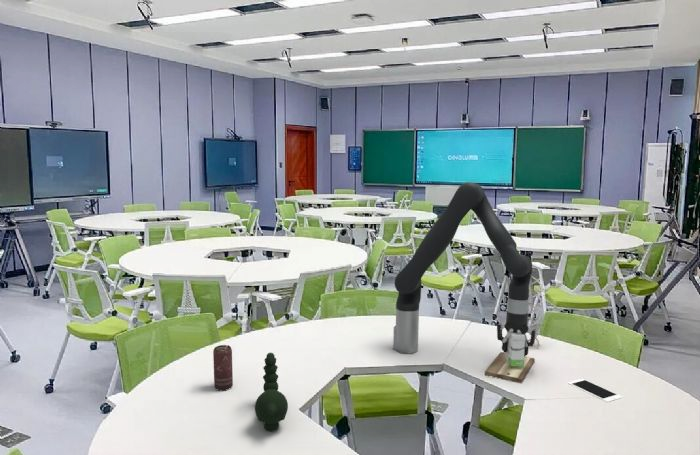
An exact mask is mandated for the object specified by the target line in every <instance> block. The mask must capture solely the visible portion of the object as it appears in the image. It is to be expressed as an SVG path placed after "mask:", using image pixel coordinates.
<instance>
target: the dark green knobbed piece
mask: <svg viewBox="0 0 700 455" xmlns="http://www.w3.org/2000/svg"><path fill="white" fill-rule="evenodd" d="M264 364H265V365H264V366H263V368H262V369H263V371H264V375H263V376H262V379H263V380H264V383H263V388H262V389H263V392H262V393H260V395H259V396H258V397H257V399H256V401H255V404H254V413H255V415H256V417H257V420H258V421H259V422H261V423H264V424H263V428H264V429H265V431H269V432H274V431H277V430H279V428H280V422H281V421H285V419H286V416H287V413H288V409H289V402H288V400H287V398H286V397H287V396H285V394H283V393H282V392H281V391H279V383H278V379H279V375H278V374H277V370H278V368H279V367H278V365H276V364H277V357H275V354H274V352H268V353H267V354H266V356H265V358H264Z"/></svg>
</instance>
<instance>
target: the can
mask: <svg viewBox="0 0 700 455" xmlns="http://www.w3.org/2000/svg"><path fill="white" fill-rule="evenodd" d="M212 355H213V357H212V358H213V360H212V361H213V386H214V389H215V388H216V389H218V390H217V391H219V390H225V391H227V390H226V389H229V388H230V389H232V387H233V386H234V385H233V384H234V382H233V381H234V380H233V377H234V376H233V375H234V374H233V349H232V347H231V345H228V344H226V345H225V344H222V345H216V346H215V347H214V348H213V351H212ZM230 389H229V390H230Z"/></svg>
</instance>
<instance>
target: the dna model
mask: <svg viewBox="0 0 700 455" xmlns="http://www.w3.org/2000/svg"><path fill="white" fill-rule="evenodd" d="M542 278H543V277H539V278H538V279H537V278H536V277H534V276H533V275H531V279H534V280H535V281H533V282H531V283H529V287H530V286H532V285H534V284H536V283H538V284H539V285H540V291H539V290H536V289H531V288H529V291H530V292H531V294H534V295H532V296H531V297H528V303H529V306H530V307H532V308H533V310H531V311H530V310H529V311H528V315H529V314H531V313H534V312H535V311H536V312H537V313H538V315H539V317H538V319H537V318H533V317H530V316H528V320H529V321H531V322H533V323H532V324H531V325H528V328H529V329H530V328H532V327H533V326H537V328H538V332H537V333H536V336H535V341H536V342H537V346H536V349H539V347H540V341H539V339H538V336H539V335H540V333H541V328H540V325H539V324H538V323H539V322H540V321H541V318H542V314H541V312H540V311H539V309H540V308H541V306H542V304H543V302H542V301H543V300H542V298H541V297H540V296H539V295H540V294H541V293H542V292H543V290H544V289H543V288H544V287H543V284H542V283H541V282H540V280H542ZM534 291H535V292H534ZM537 292H538V293H537ZM536 297H537V298H538V299H539V301H540V302H539V305H537V304H535V305H534V304H533V303H530V302H529V301H530V300H532V299H534V298H536ZM535 306H537V307H535ZM535 320H536V321H535ZM527 333H528V334H529V332H527ZM529 336H531V335H530V334H529ZM530 339H531V338H529V339H527V340H528V342H530Z"/></svg>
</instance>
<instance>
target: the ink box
mask: <svg viewBox="0 0 700 455" xmlns="http://www.w3.org/2000/svg"><path fill="white" fill-rule="evenodd" d="M507 333H508V332H507V331H506V334H507ZM524 350H525V335H524V334H518V333H515V332H514V333H513V332H510V336H509V338H508V339H507V352H506V359H507V360H508V362H509V364H510V366H524Z"/></svg>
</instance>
